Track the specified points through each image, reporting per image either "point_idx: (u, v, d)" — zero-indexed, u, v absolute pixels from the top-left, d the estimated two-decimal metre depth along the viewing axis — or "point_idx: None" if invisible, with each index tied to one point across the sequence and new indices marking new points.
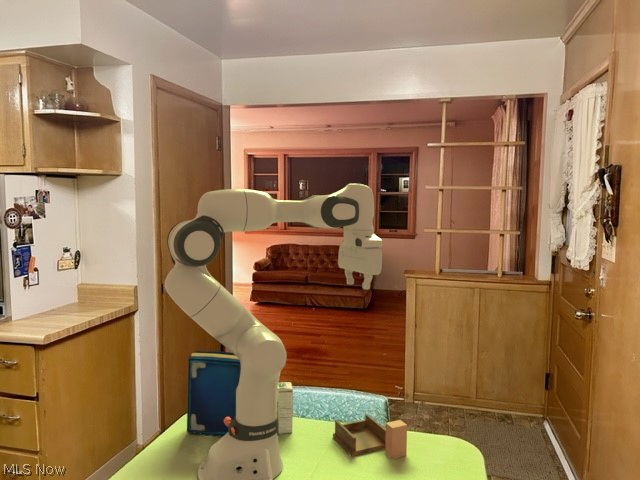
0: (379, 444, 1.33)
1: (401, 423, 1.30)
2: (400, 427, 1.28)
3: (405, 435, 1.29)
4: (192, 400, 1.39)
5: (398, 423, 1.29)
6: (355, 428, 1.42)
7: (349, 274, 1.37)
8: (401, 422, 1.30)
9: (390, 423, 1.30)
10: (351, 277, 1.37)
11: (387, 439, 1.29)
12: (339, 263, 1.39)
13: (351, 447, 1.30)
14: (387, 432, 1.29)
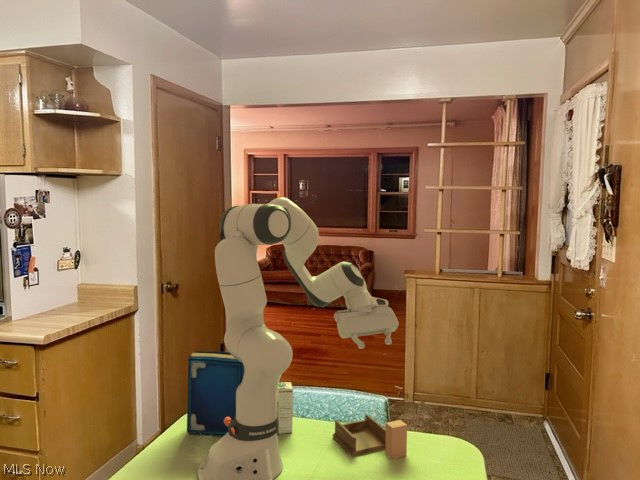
0: (379, 444, 1.33)
1: (401, 423, 1.30)
2: (400, 427, 1.28)
3: (405, 435, 1.29)
4: (192, 400, 1.39)
5: (398, 423, 1.29)
6: (355, 428, 1.42)
7: None
8: (401, 422, 1.30)
9: (390, 423, 1.30)
10: None
11: (387, 439, 1.29)
12: (346, 329, 1.38)
13: (351, 447, 1.30)
14: (387, 432, 1.29)
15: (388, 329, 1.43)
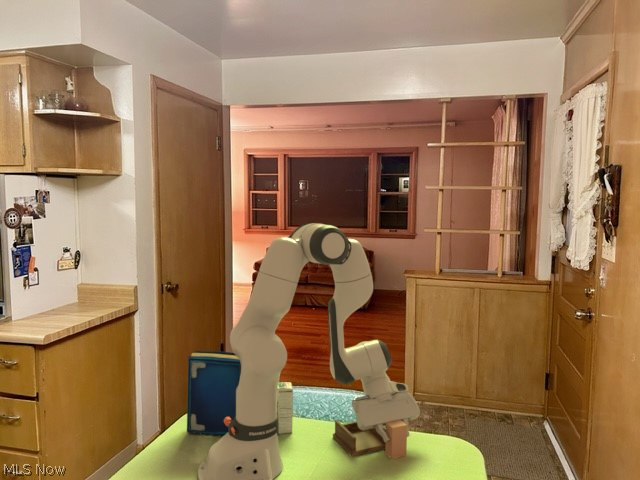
0: (379, 444, 1.33)
1: (401, 423, 1.30)
2: (400, 427, 1.28)
3: (405, 435, 1.29)
4: (192, 400, 1.39)
5: (398, 423, 1.29)
6: (355, 428, 1.42)
7: None
8: (401, 422, 1.30)
9: (390, 423, 1.30)
10: None
11: None
12: (366, 421, 1.28)
13: (351, 447, 1.30)
14: (387, 432, 1.29)
15: (405, 419, 1.33)
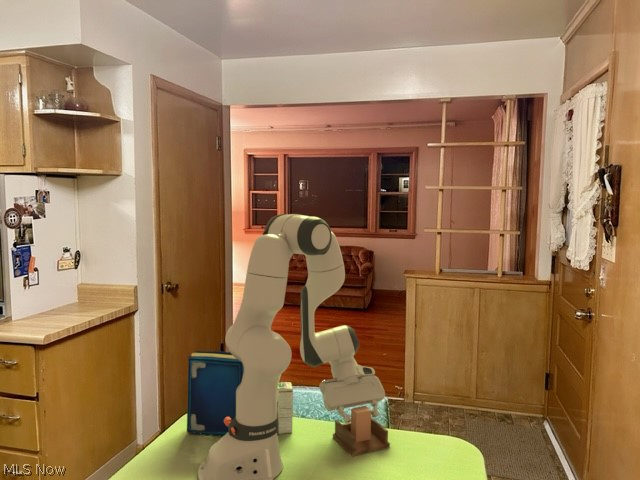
0: (379, 444, 1.33)
1: (365, 409, 1.36)
2: (364, 412, 1.35)
3: (369, 420, 1.35)
4: (192, 400, 1.39)
5: (362, 409, 1.36)
6: None
7: None
8: (365, 408, 1.37)
9: (355, 409, 1.36)
10: None
11: (352, 424, 1.36)
12: (332, 401, 1.34)
13: (351, 447, 1.30)
14: (352, 417, 1.36)
15: (374, 400, 1.40)
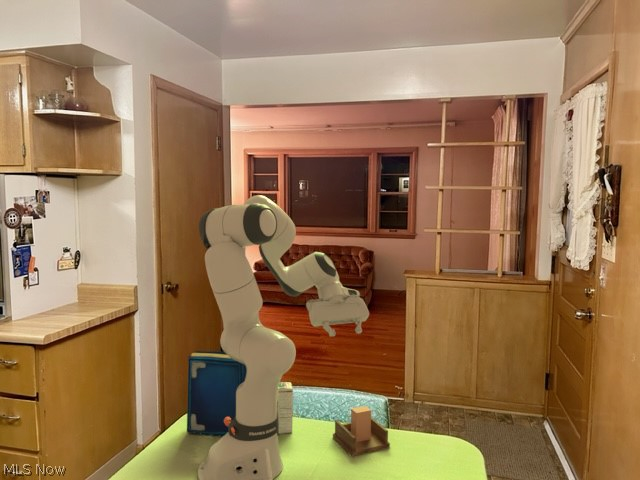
0: (379, 444, 1.33)
1: (365, 409, 1.36)
2: (364, 412, 1.35)
3: (369, 420, 1.35)
4: (192, 400, 1.39)
5: (362, 409, 1.36)
6: None
7: None
8: (365, 408, 1.37)
9: (355, 409, 1.36)
10: None
11: (352, 424, 1.36)
12: (317, 317, 1.41)
13: (351, 447, 1.30)
14: (352, 417, 1.36)
15: (359, 318, 1.46)
